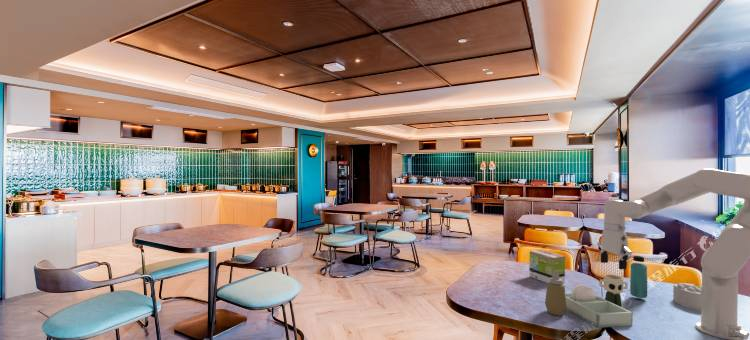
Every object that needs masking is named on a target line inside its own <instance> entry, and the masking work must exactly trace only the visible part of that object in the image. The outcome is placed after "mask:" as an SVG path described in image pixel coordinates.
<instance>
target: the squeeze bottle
mask: <svg viewBox="0 0 750 340" xmlns="http://www.w3.org/2000/svg"><path fill="white" fill-rule="evenodd" d="M565 293H566V288H565V285H564V283H562V279H560V278H559V274H558V270H554V274H553V277H551V278H550V282H549V283H546V292H545V299H544V301H545V302H544V304H545V307H546V311H547V313H548V314H551V315H553V316H560V317H561V316H563V315H564V313H565V312H566V310H567V309H566V296H565Z"/></svg>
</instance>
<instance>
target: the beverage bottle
mask: <svg viewBox="0 0 750 340" xmlns="http://www.w3.org/2000/svg"><path fill="white" fill-rule="evenodd" d="M632 260H633V261H634V262H632V263H631V264H630V274H629V276H630V278H629V283H630V284H629V286H630V287H629V288H630V289H629V293H630V296H632V297H634V298H639V299H646V298H648V290H649V289H648V265H646V264H644V263H645V257H644V256H640V255H634V256H633V259H632Z"/></svg>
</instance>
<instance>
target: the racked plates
mask: <svg viewBox="0 0 750 340" xmlns="http://www.w3.org/2000/svg"><path fill="white" fill-rule="evenodd" d="M571 293H572V299H576V301H588V300H596V296H597V295H596V292H595V290H594V289H593V288H591V287H589V286H587V285H585V284H579V285H576V286H575V287H574V288H573V289H572V291H571Z"/></svg>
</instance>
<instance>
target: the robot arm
mask: <svg viewBox="0 0 750 340" xmlns="http://www.w3.org/2000/svg"><path fill="white" fill-rule="evenodd" d="M709 193H712V194H717V195H722V196H727V197H732V198H733V197H734V198H738V199H742V200H743V201H744V202H743V204H742V206H741V208H740V209H739V211H738V212H737V213H736V214H735V216H734V217H733V218H732V220H731V221H729V223H728V224H727V225H726V226H725V227H724V228H723V229H722V230H721V232H720V234H719V235H718V237H717V238H716V239H715V241H714V242H713V243H712V244H711V246H710V247H709V248H708V249H706V250H705V251H704V252H703V253H702V256H701V259H700V266H701V270H702V271H701V272H702V273H701V286H702V297H701V310H700V321H697V322H696V323H695V328H696V330H698V331H701V332H702V333H704V334H705V335H709V336H712V337H716V338H720V339H724V340H748V339H749V337H750V333H749V332H747V331H744V330H742V326H741V325H740V324H738V307H739V306H738V302H739V300H738V299H739V298H738V297H739V296H738V295H739V272H740V271H741V269H742V268H743V267H744V266H745V265H746V264H747V262H748V261H749V260H750V174H748V173H747V174H746V173H741V172H740V173H739V172H734V171H726V170H721V169H715V168H711V167H709V168H708V167H707V168H705V167H704V168H702V169H699V170H698V171H696V172H694V173H693V172H692V173H691V174H689V175H687V176H684V177H682V178H680V179H677V180H675V181H672V182H669V183H667V184H665V185H664V186H662V187H661V188H659V189H658V190H656V191H653V192H651V193H649V194H647V195H645V196H642V197H640V198H637V199H635V200H629V201H628V200H627V201H624V200H622V199H615V198H614V199H613V198H611V199H606V200H605V201H604V212H603V213H604V214H603V215H604V218H603V219H604V220H603V229H602V234H601V239H600V240H601V241H598V242H597V244H596V245H597V247H598V251H599V254H600V263H601V264H608V263H609V253H611V254H613V255H617V256H618V258H619V260H618V269H619V270H627V267H628V266H627V265H628V260H629V259H630V258H631V255H632V254H633V251H632V250H630V248H629V241H628V236H627V235H628V234H627V232H626V231H625V230H626V224H625V223H626V218H628V219H635V220H636V219H641V218H644V217H645V216H648V215H650V214H651V215H652V214H653V213H655V212H658V211H661V210H663V209H665V208H668V207H673V206H677V205H681V204H683V203H686V202H688V201H690V200H693V199H696V198H699V197H701V196H704V195H706V194H709Z"/></svg>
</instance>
